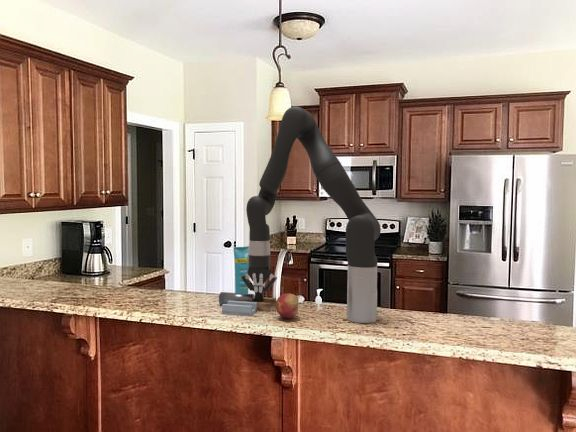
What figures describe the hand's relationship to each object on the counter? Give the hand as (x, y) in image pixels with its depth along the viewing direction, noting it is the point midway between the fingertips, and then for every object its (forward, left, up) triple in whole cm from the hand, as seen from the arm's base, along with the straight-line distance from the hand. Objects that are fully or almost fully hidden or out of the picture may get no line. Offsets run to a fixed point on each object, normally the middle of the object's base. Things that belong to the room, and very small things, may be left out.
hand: (259, 302), depth 164 cm
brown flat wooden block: (+1, 0, -2) cm, 2 cm away
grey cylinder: (+8, 0, +1) cm, 8 cm away
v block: (+4, +9, -2) cm, 10 cm away
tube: (+12, -17, -2) cm, 21 cm away
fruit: (-13, +12, -2) cm, 18 cm away
